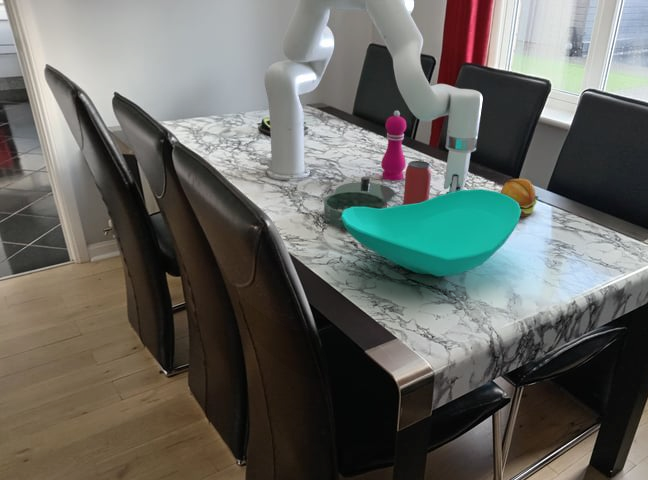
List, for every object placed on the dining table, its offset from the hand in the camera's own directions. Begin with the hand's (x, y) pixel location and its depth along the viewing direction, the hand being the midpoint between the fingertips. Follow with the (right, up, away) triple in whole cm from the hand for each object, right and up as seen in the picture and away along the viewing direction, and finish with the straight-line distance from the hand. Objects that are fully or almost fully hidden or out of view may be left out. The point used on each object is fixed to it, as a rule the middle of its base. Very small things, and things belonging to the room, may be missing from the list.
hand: (453, 211), depth 151 cm
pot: (-25, -3, -7) cm, 27 cm away
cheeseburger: (+17, 0, +3) cm, 17 cm away
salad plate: (-56, +37, +62) cm, 91 cm away
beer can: (-10, +1, +2) cm, 10 cm away
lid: (-23, +6, +8) cm, 25 cm away
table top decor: (-9, -16, -27) cm, 33 cm away
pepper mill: (-16, +13, +22) cm, 30 cm away
